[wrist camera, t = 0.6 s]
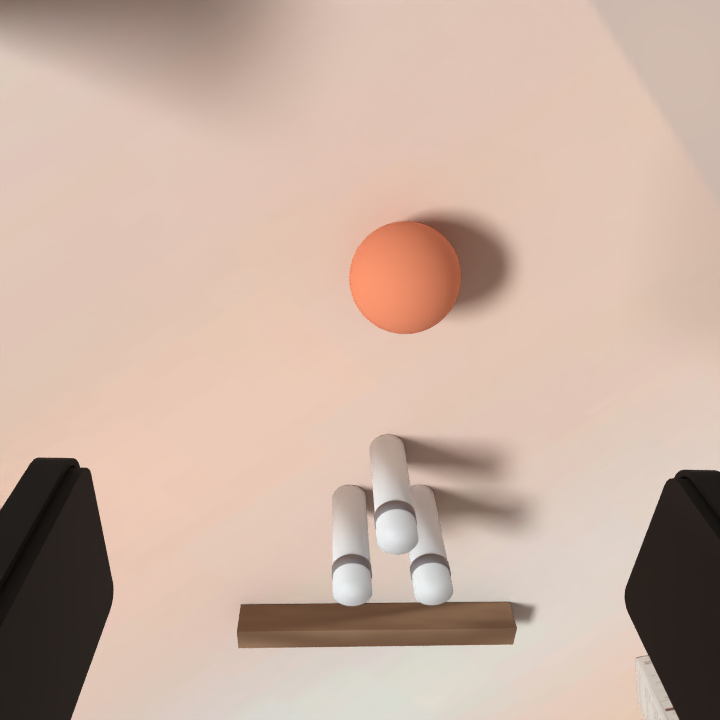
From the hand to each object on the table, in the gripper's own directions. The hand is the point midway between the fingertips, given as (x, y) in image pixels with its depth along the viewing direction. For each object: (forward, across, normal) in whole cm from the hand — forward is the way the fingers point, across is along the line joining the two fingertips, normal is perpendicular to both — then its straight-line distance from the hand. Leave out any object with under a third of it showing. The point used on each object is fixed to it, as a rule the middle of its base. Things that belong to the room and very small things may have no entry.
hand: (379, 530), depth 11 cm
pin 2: (+27, -6, +24) cm, 37 cm away
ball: (+24, -3, +6) cm, 25 cm away
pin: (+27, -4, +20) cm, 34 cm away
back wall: (+28, -4, +36) cm, 46 cm away
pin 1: (+27, -1, +24) cm, 36 cm away
